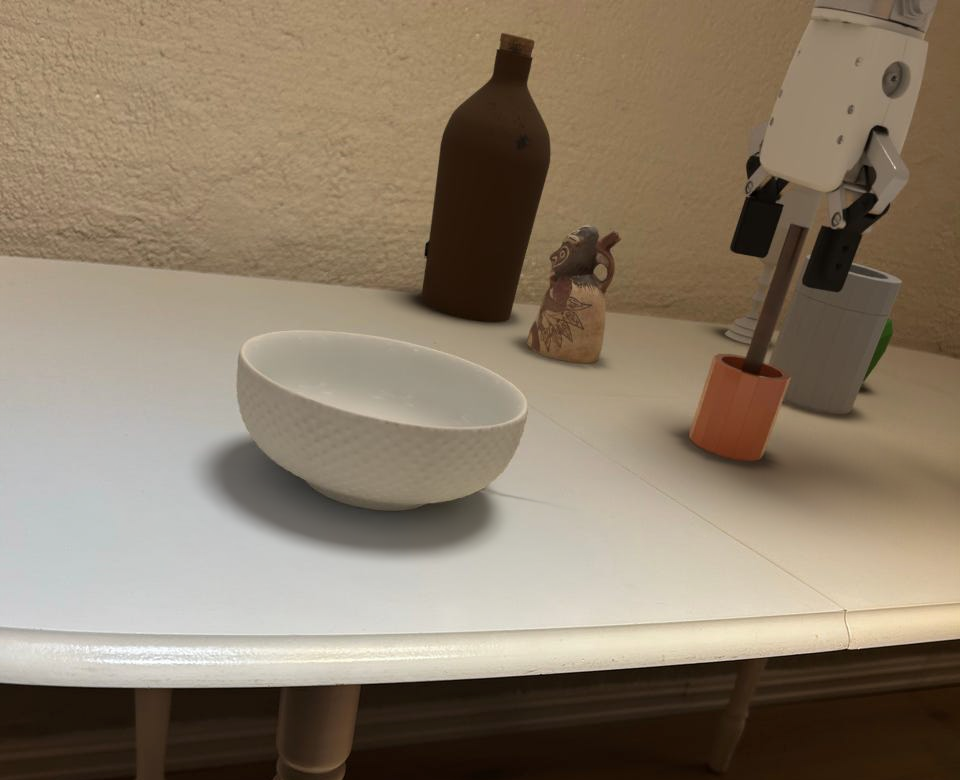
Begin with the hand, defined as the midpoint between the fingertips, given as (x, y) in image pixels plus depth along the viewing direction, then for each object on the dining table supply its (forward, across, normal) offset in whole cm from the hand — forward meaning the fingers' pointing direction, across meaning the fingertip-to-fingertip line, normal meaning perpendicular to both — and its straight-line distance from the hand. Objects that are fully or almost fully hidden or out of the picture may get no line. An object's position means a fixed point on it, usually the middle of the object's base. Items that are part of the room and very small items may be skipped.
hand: (782, 270), depth 77 cm
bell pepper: (+14, +25, -30) cm, 41 cm away
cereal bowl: (+15, -11, +32) cm, 37 cm away
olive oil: (+14, +36, +10) cm, 40 cm away
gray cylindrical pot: (+14, +16, -20) cm, 29 cm away
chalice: (+14, +38, -26) cm, 48 cm away
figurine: (+14, +22, +5) cm, 27 cm away
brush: (+14, 0, 0) cm, 14 cm away
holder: (+14, 0, 0) cm, 14 cm away
